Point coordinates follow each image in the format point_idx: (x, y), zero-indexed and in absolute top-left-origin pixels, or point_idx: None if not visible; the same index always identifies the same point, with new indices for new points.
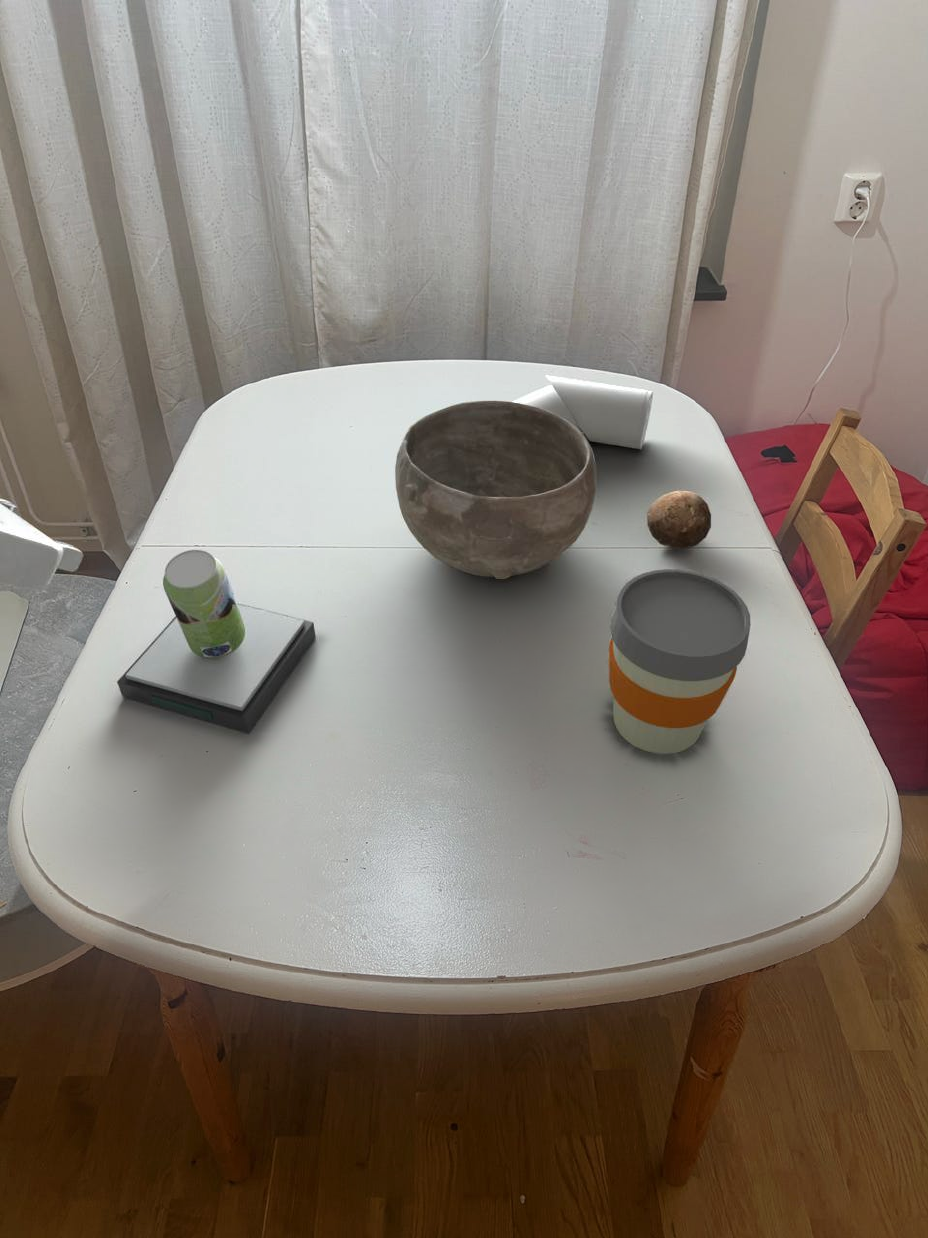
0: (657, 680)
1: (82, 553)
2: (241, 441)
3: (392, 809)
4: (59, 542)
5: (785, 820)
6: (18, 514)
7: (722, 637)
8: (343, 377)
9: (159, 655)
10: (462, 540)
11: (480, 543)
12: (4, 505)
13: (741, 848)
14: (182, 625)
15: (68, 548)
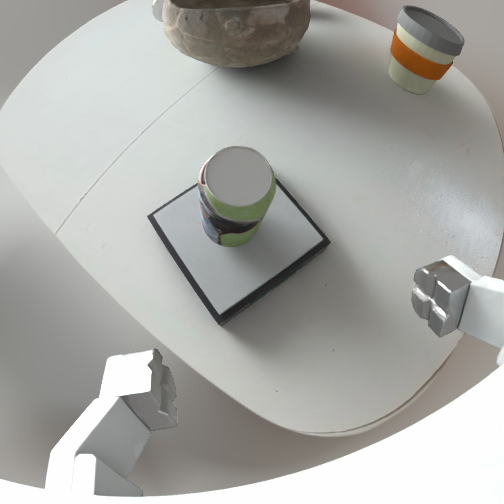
0: (451, 58)
1: (449, 256)
2: (20, 138)
3: (425, 201)
4: (457, 286)
5: (463, 92)
6: (161, 355)
7: (449, 30)
8: (32, 75)
9: (213, 276)
10: (283, 36)
11: (294, 33)
12: (153, 386)
13: (472, 110)
14: (242, 234)
15: (477, 273)
